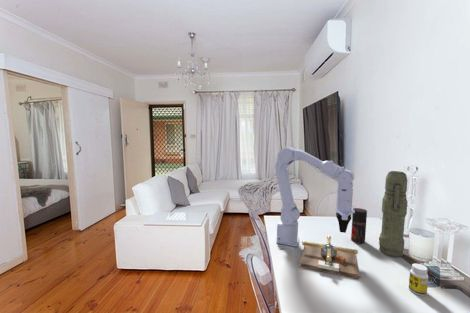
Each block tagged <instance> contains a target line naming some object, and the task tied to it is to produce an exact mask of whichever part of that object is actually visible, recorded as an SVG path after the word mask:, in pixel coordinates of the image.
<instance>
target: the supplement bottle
mask: <svg viewBox="0 0 470 313" xmlns="http://www.w3.org/2000/svg"><path fill="white" fill-rule="evenodd" d="M428 272H429V271H428V267H426V266H425V265H423V264H420V263H412V264H411V269H410V270H409V276H408V277H409V279H408V290H409V291H410V292H411V293H412V294H414V295H418V296H422V297H423V296H426V295H427V294H428V285H429V275H428Z"/></svg>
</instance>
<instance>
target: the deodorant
mask: <svg viewBox="0 0 470 313" xmlns="http://www.w3.org/2000/svg"><path fill="white" fill-rule="evenodd" d="M352 210H354V211H355V213H352V214H351V230H350V231H351V233H350V234H351V235H350V240H351V242H353V243H354V244H355V243H356V244H365V243H366V232H367V229H366V228H367V218H368V216H367V215H368V210H366V209H365V208H360V207H354V208H352Z"/></svg>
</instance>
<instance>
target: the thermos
mask: <svg viewBox="0 0 470 313" xmlns="http://www.w3.org/2000/svg"><path fill="white" fill-rule="evenodd" d="M407 189H408V177H407V174H406V172H404V171H396V170H391V171H388V173H387V175H386V176H385V185H384V191H385V192H384V194H383V197H382V200H381V202H382V203H381V212H382V220H381V221H382V222H381V232H380V233H379V234H380V235H379V241H378V246H379V252H380V253H381V254H383V255H385V256H388V257H392V258H403V256H404V250H405V239H404V234H405V233H404V232H405V221H406V216H407V214H408V203H409V202H408V199H407V194H406V193H407V191H408V190H407Z"/></svg>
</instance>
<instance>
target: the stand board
mask: <svg viewBox="0 0 470 313" xmlns="http://www.w3.org/2000/svg"><path fill="white" fill-rule="evenodd" d="M321 244H322V247H325V244H323V243H321ZM336 247H337V246H336V245H335V246H334V245H333V248H334V249H336ZM337 255H339V256H341V257H344V258H346V262H345V263H344V264H341V263H339V262H337V261H335V260H331V261H327V260H326V259H325V258H323V257H322V256H321V248H318V247H312V246H306V245H303V249H302V253H301V258H300V261H299V267H300V268H304V269H309V270H314V271H318V272H323V273H328V274H334V275H338V276H343V277H347V278H351V279H357V280H359V279H360V273H359V268H358V264H357V260H356V259H357V258H356V254H352V253H346V252H341V251H337ZM319 260H320V261H325V265H326V263H327V262H330V263H331V266H332V263H336V264H339V272H338V271H333V270H328V269H324V268H319V267H318V262H319Z"/></svg>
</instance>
